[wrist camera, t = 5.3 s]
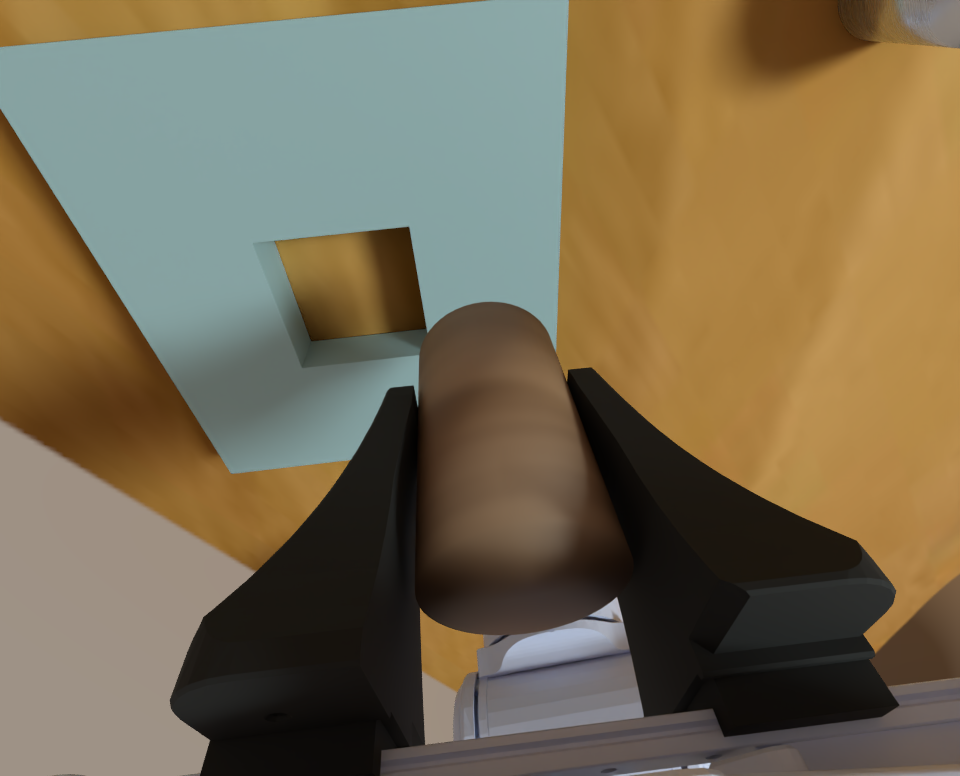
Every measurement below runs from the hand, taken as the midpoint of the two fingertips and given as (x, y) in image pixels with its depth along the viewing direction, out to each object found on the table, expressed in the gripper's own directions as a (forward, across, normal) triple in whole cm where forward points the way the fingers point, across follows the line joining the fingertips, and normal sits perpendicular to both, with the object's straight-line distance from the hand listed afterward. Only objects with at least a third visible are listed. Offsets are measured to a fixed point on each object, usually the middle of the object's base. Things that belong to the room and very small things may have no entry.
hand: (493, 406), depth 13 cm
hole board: (+9, +5, 0) cm, 10 cm away
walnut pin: (+2, 0, 0) cm, 2 cm away
